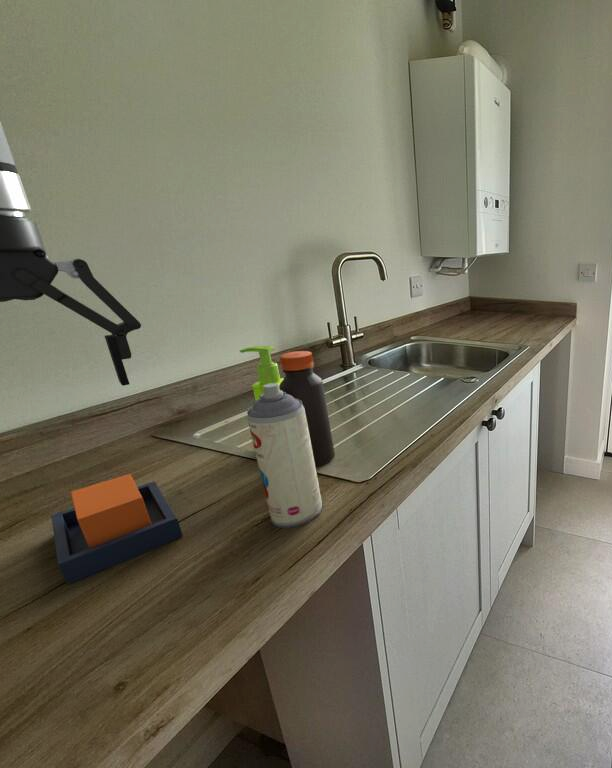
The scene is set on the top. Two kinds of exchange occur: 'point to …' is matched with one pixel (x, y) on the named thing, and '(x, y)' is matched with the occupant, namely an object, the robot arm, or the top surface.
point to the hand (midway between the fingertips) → (52, 396)
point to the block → (109, 510)
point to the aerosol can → (285, 457)
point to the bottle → (309, 401)
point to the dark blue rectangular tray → (87, 561)
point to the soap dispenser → (264, 369)
